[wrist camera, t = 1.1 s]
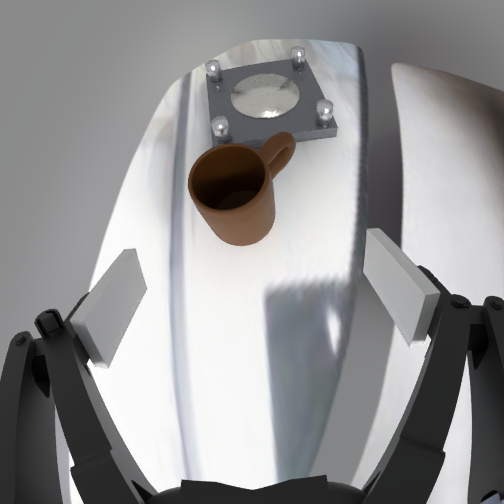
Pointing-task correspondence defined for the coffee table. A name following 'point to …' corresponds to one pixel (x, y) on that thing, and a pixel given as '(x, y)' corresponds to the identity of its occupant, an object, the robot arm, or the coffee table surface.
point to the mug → (239, 187)
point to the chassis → (267, 102)
